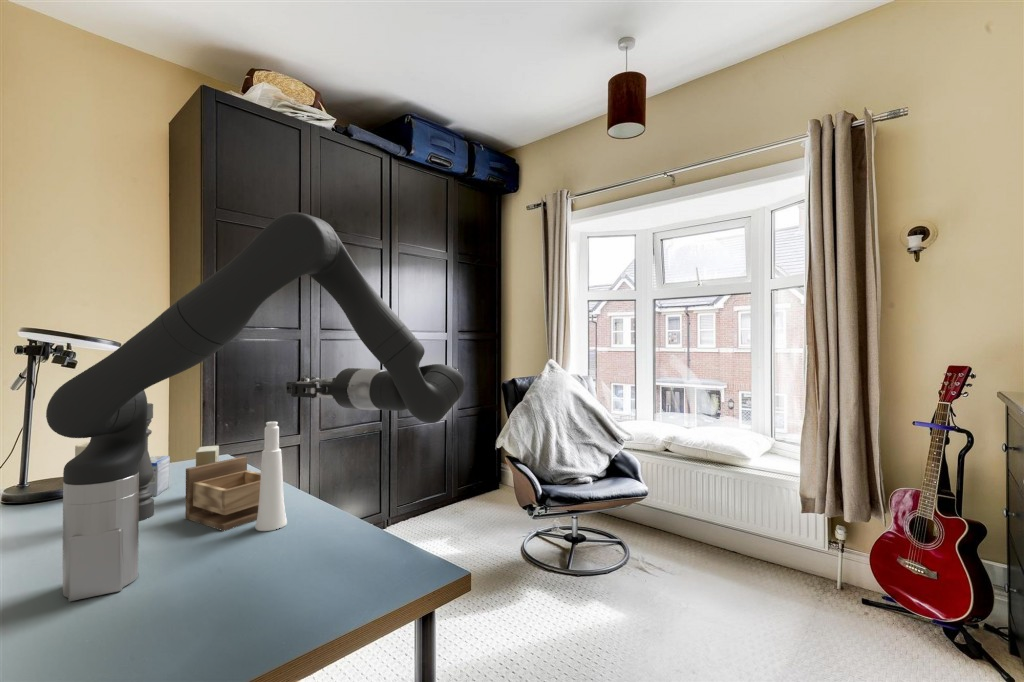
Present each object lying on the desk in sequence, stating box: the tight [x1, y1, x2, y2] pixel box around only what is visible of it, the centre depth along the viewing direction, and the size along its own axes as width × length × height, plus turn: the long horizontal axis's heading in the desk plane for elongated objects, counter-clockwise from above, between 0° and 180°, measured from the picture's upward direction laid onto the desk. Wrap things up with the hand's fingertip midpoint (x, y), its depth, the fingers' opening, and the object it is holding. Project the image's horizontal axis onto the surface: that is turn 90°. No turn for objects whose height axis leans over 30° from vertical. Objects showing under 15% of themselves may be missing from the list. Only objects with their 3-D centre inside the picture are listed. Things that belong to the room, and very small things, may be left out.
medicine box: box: [148, 455, 171, 497], centre depth 123 cm, size 8×4×9 cm, turn 17°
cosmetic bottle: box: [255, 421, 288, 532], centre depth 100 cm, size 6×6×22 cm
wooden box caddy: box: [185, 456, 261, 532], centre depth 107 cm, size 14×13×11 cm
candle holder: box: [139, 402, 155, 522], centre depth 105 cm, size 6×6×25 cm
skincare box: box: [195, 445, 220, 467], centre depth 120 cm, size 6×4×12 cm
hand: (306, 385), depth 95 cm, fingers open, 8 cm apart
